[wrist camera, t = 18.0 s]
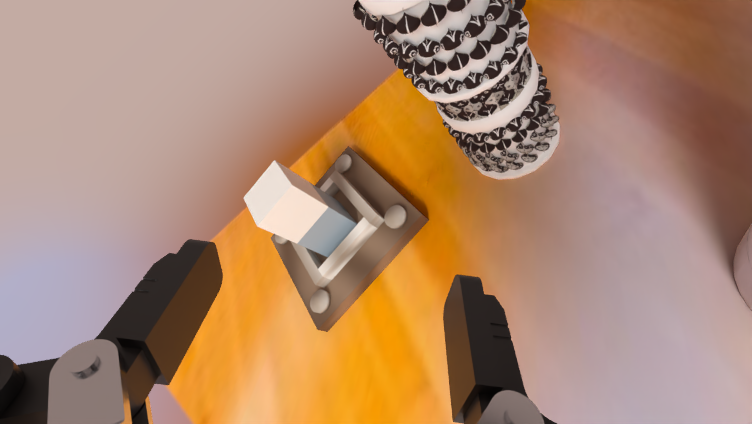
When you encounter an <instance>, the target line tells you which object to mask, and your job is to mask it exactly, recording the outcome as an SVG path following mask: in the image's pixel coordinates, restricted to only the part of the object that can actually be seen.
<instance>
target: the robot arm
mask: <svg viewBox="0 0 752 424" xmlns="http://www.w3.org/2000/svg"><path fill="white" fill-rule="evenodd" d="M733 267H734V278H735V281H736V284H737V287H738V289H739V292H740V294H741V296H742V297H743V299H744V300H745V302H746V303H747V305H748V306H749V308H750V309H751V310H752V223H751V225H750V226H749V228H748V230H747V231H746V233H745V235H744V236H743V238H742V240H741V241H740V243H739V245H738V246H737V249H736V253H735V257H734V261H733ZM222 278H223V274H222V269H221V265H220V261H219V257H218V252H217V248H216V245H215V243H213V242H207V241H200V240H192V239H190V240H187V241H186V242H185V243H184V245H183V246H182V247H181V249H180V250H179V252H178V253H177V254H172V253H169V254H167V255H166V256H165V257H163V258H162V259H160V260H159V261H158V262H156V263H155V264H154V265H153V266H152V267H151V268H150V270H149V271H148V272H147V274H146V275H145V276H144V277H143V280H141V281H140V283H139V284H138V285H137V287H136V288H135V291H134V292H132V293H131V294H130V295H129V297H128V298H127V299H126V301H125V302H124V303H123V305H122V306H121V307H120V308H119V310H118V311H117V312H116V314H115V315H114V316H113V317H112V318H111V320H110V321H109V322H108V324H107V325H106V326H105V327H104V329H103V330H102V331H101V333H100V334H99V335H98V336H97V337H96V338H95V339H94V340H90V341H87V342H84V343H81V344H79V345H77V346H75V347H73V348H72V349H70V350H69V351H67V352H66V353H65V354H63V355H62V356H61V357H60V358H56V359H50V360H45V361H38V362H33V363H27V364H21V365H16V364H15V363H14V362H13V361H12V360H11V359H10V358H9V357H7V356H4V355H0V424H153V421H152V414H151V408H150V401H149V397H148V394H149V392H150V391H151V389H152V387H153V385H154V384H163V385H169V384H170V382H171V380H172V378H173V376H174V375H175V373H176V371H177V369H178V367H179V365H180V363H181V361H182V360H183V358H184V356H185V354H186V352H187V350H188V348H189V346H190V345H191V343H192V341H193V339H194V337H195V335H196V333H197V332H198V330H199V328H200V326H201V324H202V322H203V320H204V318H205V317H206V315H207V313H208V311H209V309H210V307H211V305H212V303H213V302H214V300H215V298H216V296H217V294H218V292H219V290H220V288H221V284H222ZM443 320H444V331H445V342H446V353H447V364H448V374H449V385H450V396H451V407H452V418H453V422H458V423H464V424H557V423H555V422H553V421H551V420H549V419H548V418H546V417H545V416H544V415H542V414H541V413H540V411H539V410H538V408H537V407H536V406H535V404H534V403H533V402H532V401H531V400H530V399H529V398H528V396H527V394H526V392H525V389H524V385H523V382H522V378H521V374H520V370H519V366H518V362H517V358H516V354H515V351H514V347H513V343H512V341H511V335H510V331H509V328H508V323H507V320H506V316H505V312H504V309H503V308H502V306H501V305H500V303H499V302H498V300H497V299H496V297H495V296H493V295H485V294H484V291H483V287H482V282H481V279H480V278H479V277H473V276H465V275H456V276H455V278H454V280H453V283H452V286H451V288H450V291H449V294H448V296H447V299H446V302H445V306H444V314H443Z"/></svg>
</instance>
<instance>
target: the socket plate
mask: <svg viewBox="0 0 752 424" xmlns="http://www.w3.org/2000/svg"><path fill="white" fill-rule="evenodd" d="M315 186H316V187H317V188H319V189H321V190H322V191H324V192H325V193H327V194H328V195H330V196H331V197H333V198H335V199H336V200H338V201H339V202H340V203H341V204H342V206H343V207H344V208H345V209H346V211H347V212H348V213H349V214H350V215H351V217H352V218H353V219H354V220H355V221H356V223H357V225H356V226H355V228H354V229H353V230H352V231H351V232H350V233H349V234H348V236H347V237H346V238H345V239H344V240H343V241H342V242H341V243H340V245H339V246H338V247H337V248H336V249H335V250H334V251H333V253H332V254H331V255H330V256H329V257H326V256H324V255H321V254H319V253H317V252H315V251H312V250H310V249H308V248H305V247H303V246H301V245H299V244H296V243H294V242H292V241H290V240H287V239H285V238H283V237H281V236H278V235H276V234H274V235H273V236H272V237H271V239H272V241H273V243H274V245H275V247H276V249H277V251H278V253H279V255H280V257H281V259H282V261H283V263H284V265H285V267H286V269H287V271H288V273H289V275H290V277H291V278H292V280H293V282H294V284H295V286H296V288H297V290H298V292H299V294H300V296H301V298H302V300H303V302H304V304H305V306H306V308H307V310H308V312H309V314H310V316H311V318H312V320H313V321H314V323H315V325H316V327H317V329H318V330H321V331H326V332H328V330H329V329H330V328H331V327H332V326H333V325H334V324H335V323H336V322H337V321H338V319H339V318H340V317H341V316H342V315H343V314H344V313H345V312H346V311H347V310H348V308H349V307H350V306H351V305H352V304H353V303H354V302H355V301H356V300H357V299H358V297H359V296H360V295H361V294H362V293H363V292H364V291H365V290H366V289H367V288H368V286H369V285H370V284H371V283H372V282H373V281H374V280H375V279H376V278H377V276H378V275H379V274H380V273H381V272H382V271H383V270H384V269H385V268H386V267H387V265H388V264H389V263H390V262H391V261H392V260H393V259H394V258H395V257H396V256H397V254H398V253H399V252H400V251H401V250H402V249H403V248H404V247H405V246H406V245H407V243H408V242H409V241H410V240H411V239H412V238H413V237H414V236H415V235H416V234H417V232H418V231H419V230H420V229H421V228H422V227H423V226H424V225H425V224H426V223H427V221H428V219H427V218H426V217H425V216H424V215H423V214H422V213H421V212H420V211H418V210H417V209H416V208H415V207H414V206H413V205H412V204H411V203H410V202H409V201H408V200H407V199H405V198H404V197H403V196H402V195H401V194H400V193H399V192H398V191H397V190H396V189H395V188H394V187H392V186H391V185H390V184H389V183H388V182H387V181H386V180H385V179H384V178H383V177H382V176H381V175H379V174H378V173H377V172H376V171H375V170H374V169H373V168H372V167H371V166H370V165H369V164H368V163H366V162H365V161H364V160H363V159H362V158H361V157H360V156H359V155H358V154H357V153H356V152H354V151H353V150H352V149H351V148H350V147H349V146H348V147H347V148H346V150H345V151H344V152H343V153H342V154H341V156H340V157H339V158H338V159H337V160H336V161H335V163H334V164H333V165H332V166H331V167H330V169H329V170H328V171H327V172H326V173H325V174H324V176H323V177H322V178H321V179H320V180H319V181H318V183H317V184H316V185H315Z"/></svg>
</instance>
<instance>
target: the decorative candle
mask: <svg viewBox="0 0 752 424" xmlns="http://www.w3.org/2000/svg"><path fill="white" fill-rule="evenodd" d="M525 2H526V0H512V4H511V0H357V1H356V2H355V4H354V7H353V14H354V16H355V18H357V19H359V20H360V19H361V21H362V25H363V27H364V28H365V29H367V30H374V29H375V31H374V40H375V42H376V43H378V44H383V48H384V50H385V51H386V52H387V55H388V56H389V57H390V58H392V59H393V58H394V63H395V65H396V66H397V67H398V68H399V69H403V74H404V76H405V77H406V78H412V84H413V85H414V86H415V87H416V88H417V89H418V91H419V92H421V93H422V94H423V95H424V96H425V97H426V98H427V99H428V100H432V101H434V102H435V103H436V105H437V109H438V112H439V113H440V115H441V116H442V118H443V124H444V126H445V127H446V128H449V133H450V135H452V136H453V137H456V142H457V144H458V145H459V147H460V148H461V149H462V150H463V153H464V154H465V155H466V156H467V157H468V158H469V160H470V162H471V163H472V164H473V165H474V166H475V167H476V168H477V169H478V170H479V171H480V172H481V173H482V174H483V175H485V176H488V177H491V178H494V179H497V180H501V179H516V178H519V177H521V176H524V175H527V174H529V173H532V172H534V171H536V170H537V169H538V168H539V167H540V166H542V165H543V164H544V163H545V162H546V161H548V160H549V159H550V158H551V156H552V154H553V153H554V151H555V149H556V147H557V146H558V144H559V139H560V124H559V122H558V120H559V117H558V116H556V115H555V114H554V111H555V109H556V106H555V105H554V104H546V102H547V101H548V100H550V98H551V92H550V90H549V89H544V88H545V87H546V84H547V78H546V77H545V76H543V75H541V74H542V71H543V70H542V66H541V65H540V64H537V63H536V61H535V58H534V56H533V54H532V52H531V50H530V49H529V47H528V45H527V42H528V34H529V23H528V21H527V19H526V17H525V15H524V13H523V12H522V10H521V9H522V8H523V7H524V5H525ZM365 9H366V10H367V11H369V12H370V13H371V14H373V15H372V16H370V15H369V14H368V13H366V10H365Z"/></svg>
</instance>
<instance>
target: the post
mask: <svg viewBox="0 0 752 424" xmlns="http://www.w3.org/2000/svg"><path fill="white" fill-rule="evenodd" d="M244 200H245V202H246V204H247V206H248V208H249V210H250V212H251V214H252V216H253V219H254V221H255V223H256V225H257V226H258V227H260V228H262V229H265V230H267V231H269V232H271V233H274V234H276V235H278V236H281V237H283V238H285V239H287V240H290V241H292V242H294V243H296V244H299V245H301V246H303V247H305V248H308V249H310V250H312V251H315V252H317V253H319V254H321V255H324V256H326V257H329V256H330V255H331V254H332V253H333V251H334V250H335V249H336V248H337V247H338V246H339V245H340V243H341V242H342V241H343V240H344V239H345V238H346V237H347V236H348V234H349V233H350V232H351V231H352V230H353V229H354V228H355V226H356V225H357V223H356V221H355V220H354V219H353V218H352V217H351V215H350V214H349V213H348V212H347V211H346V209H345V208H344V207H343V206H342V204H341V203H340V202H339V201H338V200H336V199H335V198H333V197H331V196H330V195H328V194H327V193H325V192H324V191H322V190H321V189H319V188H317V187H316V186H314V185H313V184H311V183H310V182H308V181H306V180H305V179H303V178H302V177H300V176H299V175H297V174H296V173H294V172H292V171H291V170H289V169H288V168H286V167H285V166H283V165H281V164H280V163H278V162H277V161H275V160H274V161H273V163H272V164H271V165H270V167H268V169H267V170H266V171H265V172H264V173H263V175H262V176H261V177H260V178H259V180H258V181H257V182H256V183H255V185H254V186H253V187H252V188H251V189H250V191H249V192H248V193H247V194H246V196H245V197H244Z"/></svg>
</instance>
